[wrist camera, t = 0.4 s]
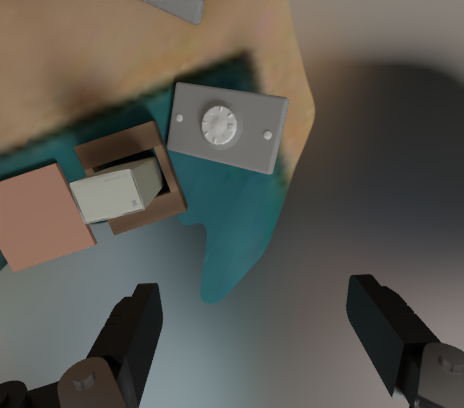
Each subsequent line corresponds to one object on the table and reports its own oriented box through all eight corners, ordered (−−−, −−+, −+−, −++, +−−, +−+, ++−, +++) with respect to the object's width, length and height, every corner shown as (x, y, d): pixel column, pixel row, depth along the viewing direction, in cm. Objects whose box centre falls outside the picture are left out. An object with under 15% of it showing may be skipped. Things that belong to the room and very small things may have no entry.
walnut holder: (83, 145, 37) (73, 146, 34) (156, 121, 37) (152, 120, 34) (121, 227, 40) (114, 235, 37) (187, 205, 40) (186, 211, 37)
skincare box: (155, 155, 38) (133, 165, 26) (165, 186, 39) (147, 210, 27) (110, 166, 38) (66, 181, 26) (120, 197, 39) (83, 225, 27)
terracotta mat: (-29, 191, 37) (-34, 192, 36) (58, 162, 37) (55, 163, 36) (17, 269, 40) (13, 272, 39) (97, 242, 40) (95, 244, 40)
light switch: (171, 79, 34) (286, 95, 29) (196, 90, 40) (296, 105, 35) (161, 148, 36) (267, 175, 31) (186, 150, 42) (280, 173, 37)
